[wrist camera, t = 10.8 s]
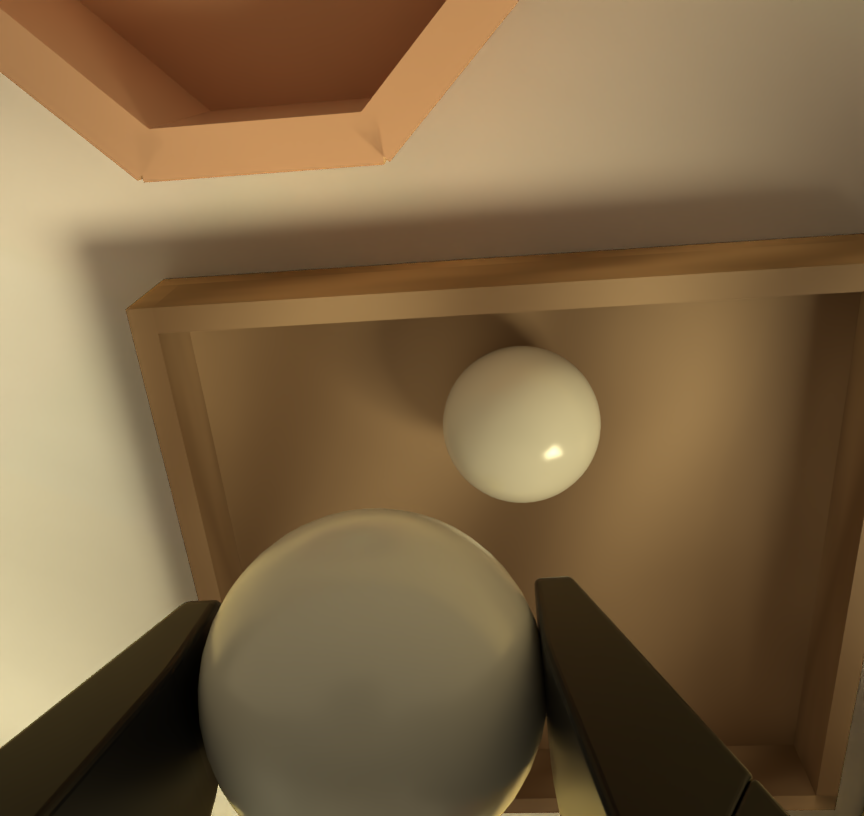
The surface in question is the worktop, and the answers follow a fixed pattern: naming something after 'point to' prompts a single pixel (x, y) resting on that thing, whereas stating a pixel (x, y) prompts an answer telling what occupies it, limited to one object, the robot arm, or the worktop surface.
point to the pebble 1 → (372, 674)
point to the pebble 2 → (521, 424)
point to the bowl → (242, 77)
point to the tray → (604, 478)
